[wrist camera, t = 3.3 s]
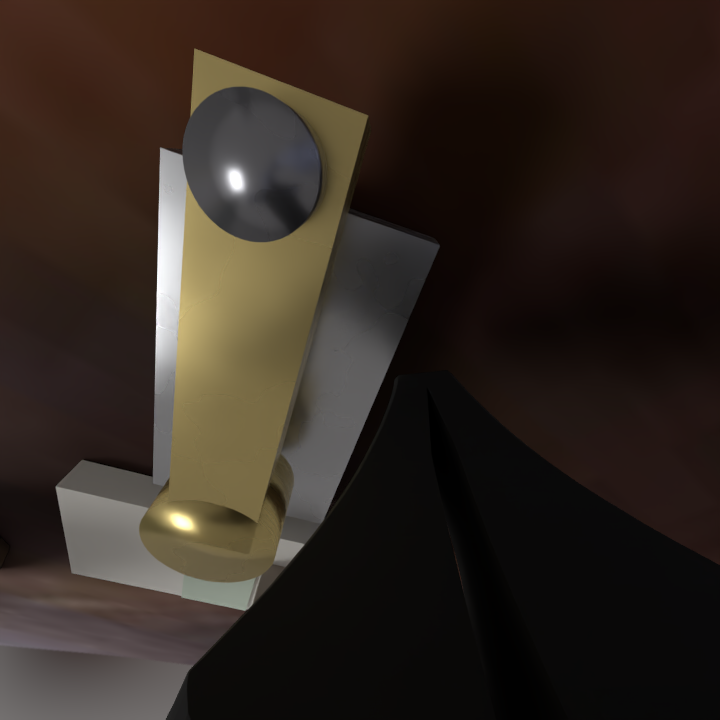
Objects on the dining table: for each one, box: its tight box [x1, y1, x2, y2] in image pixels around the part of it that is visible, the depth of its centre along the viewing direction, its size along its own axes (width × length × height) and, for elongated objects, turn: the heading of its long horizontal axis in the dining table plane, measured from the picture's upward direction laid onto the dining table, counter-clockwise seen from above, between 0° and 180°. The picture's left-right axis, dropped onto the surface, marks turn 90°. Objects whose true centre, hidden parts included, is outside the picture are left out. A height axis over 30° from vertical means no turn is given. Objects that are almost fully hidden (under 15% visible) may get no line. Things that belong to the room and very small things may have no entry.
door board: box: [56, 460, 320, 611], centre depth 16 cm, size 16×6×4 cm, turn 72°
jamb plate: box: [153, 148, 440, 524], centre depth 11 cm, size 7×12×2 cm, turn 162°
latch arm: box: [139, 49, 371, 583], centre depth 8 cm, size 4×12×3 cm, turn 162°
